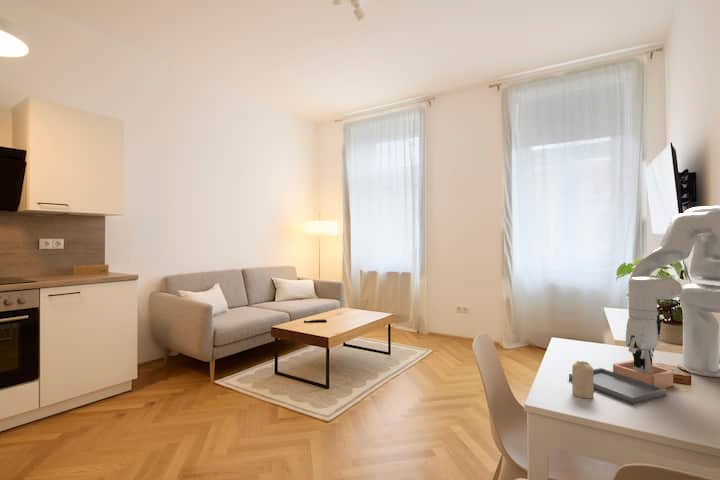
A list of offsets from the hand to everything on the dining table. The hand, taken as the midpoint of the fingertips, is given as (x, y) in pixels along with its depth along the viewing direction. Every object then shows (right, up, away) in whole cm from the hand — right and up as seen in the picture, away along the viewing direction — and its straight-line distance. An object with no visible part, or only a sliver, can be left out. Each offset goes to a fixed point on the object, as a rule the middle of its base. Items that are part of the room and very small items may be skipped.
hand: (642, 368), depth 121 cm
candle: (-27, -4, -11) cm, 30 cm away
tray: (-13, -4, -5) cm, 15 cm away
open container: (0, -4, 0) cm, 4 cm away
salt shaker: (0, -4, 0) cm, 4 cm away
